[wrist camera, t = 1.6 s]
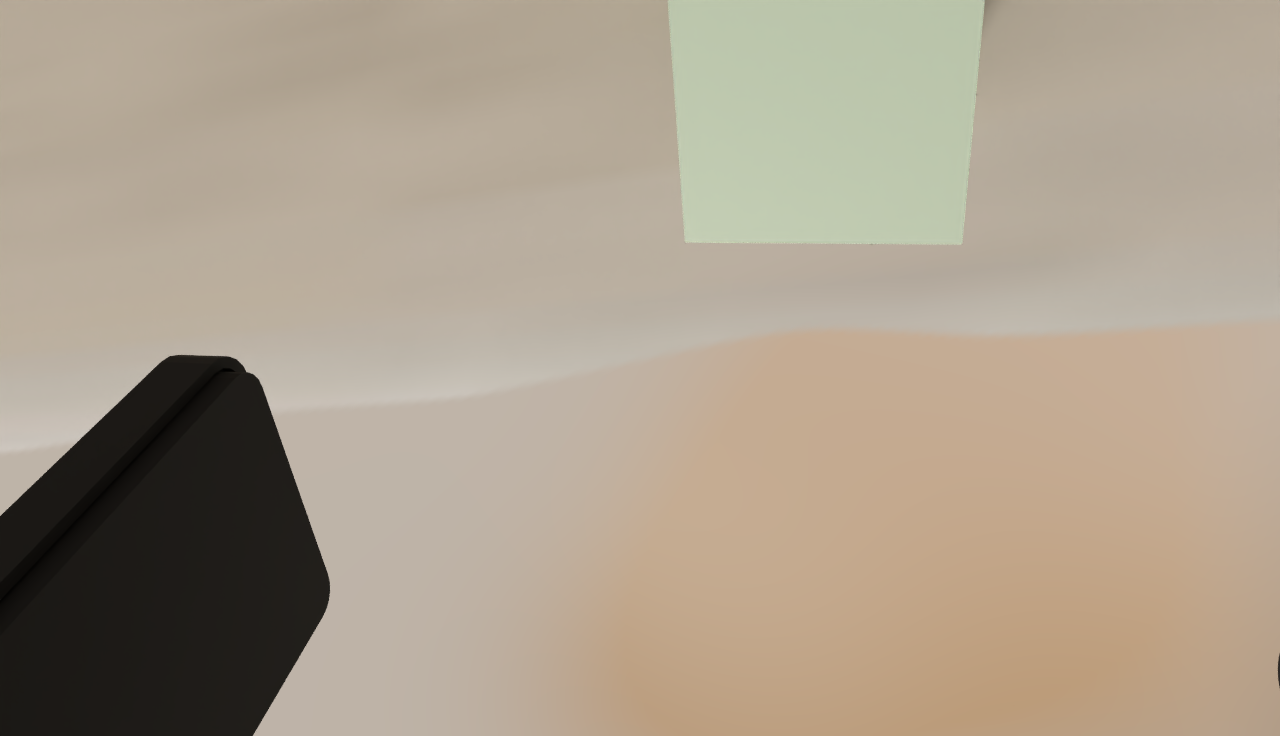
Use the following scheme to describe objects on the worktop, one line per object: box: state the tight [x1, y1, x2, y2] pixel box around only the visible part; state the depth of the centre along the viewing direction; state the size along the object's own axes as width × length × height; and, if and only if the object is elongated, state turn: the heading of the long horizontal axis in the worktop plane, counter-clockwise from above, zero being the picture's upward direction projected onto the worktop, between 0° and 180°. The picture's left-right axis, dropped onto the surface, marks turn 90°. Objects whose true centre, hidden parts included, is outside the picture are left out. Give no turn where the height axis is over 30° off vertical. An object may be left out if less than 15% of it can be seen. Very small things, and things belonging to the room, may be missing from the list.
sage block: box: [668, 0, 985, 245], centre depth 21 cm, size 5×5×8 cm
